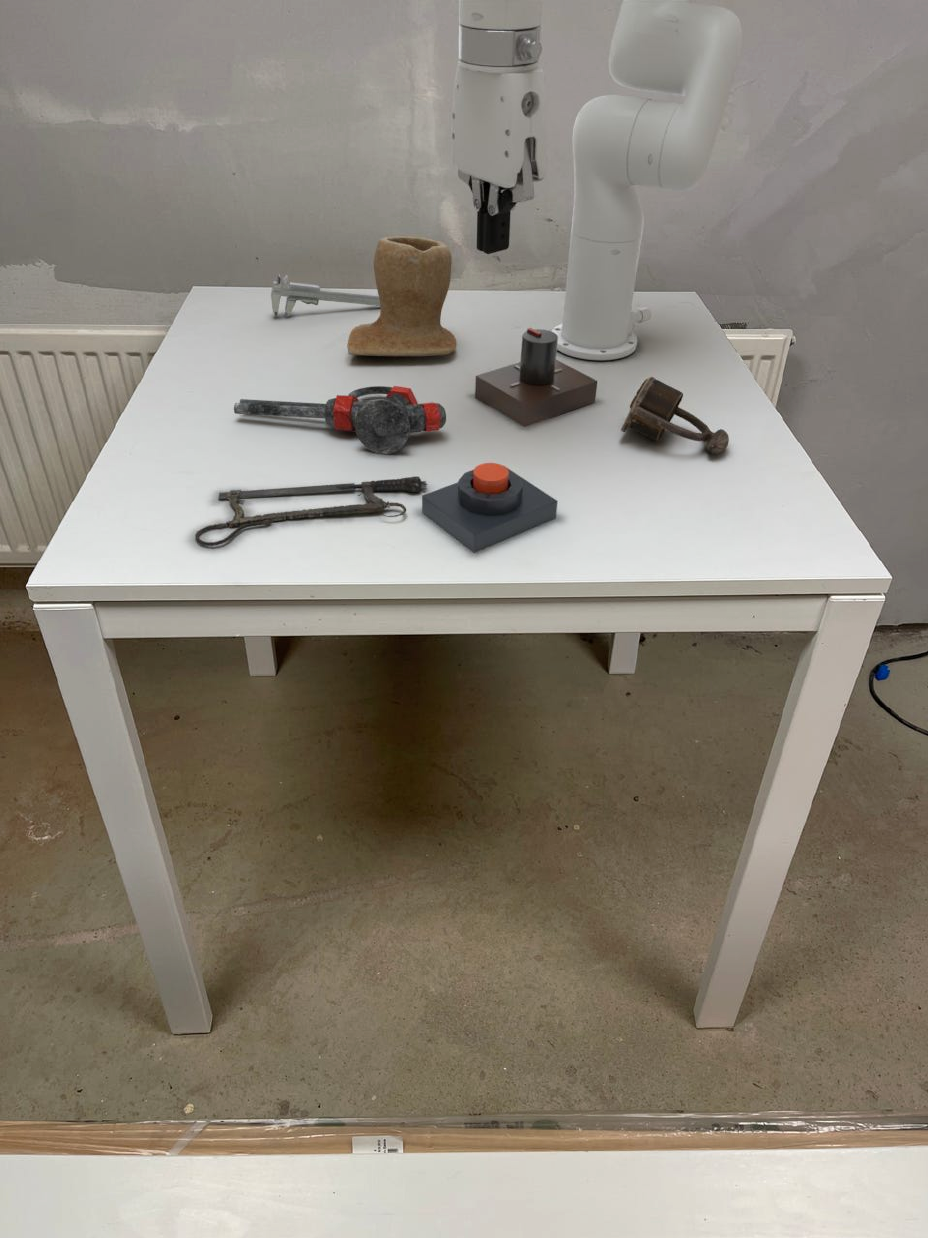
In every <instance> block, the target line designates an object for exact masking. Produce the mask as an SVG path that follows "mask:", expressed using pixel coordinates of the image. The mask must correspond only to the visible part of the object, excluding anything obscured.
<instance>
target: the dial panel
mask: <svg viewBox="0 0 928 1238" xmlns="http://www.w3.org/2000/svg"><path fill="white" fill-rule="evenodd" d="M520 362H521V361H519V362H515V363H513V364H509V365H506V366H502V367H500V368H496V369H493V370H490V371H487V372H483V373H480V374H477V375H475V386H474V398H475V399H477V400H478V401H480V402H482V403H484V404H485V405H487V406H489V407H491V408H493V409H494V410H495V411H497V412H499V413H501V414H503V415H504V416H506V417H507V418H509V419H510V420H512V421H514V422H516V424H519V425H520V426H522V427H529V426H531V425H534V424H537V423H540V422H543V421H545V420H548V419H552V418H555V417H558V416H560V415H563V414H566V413H569V412H572V411H574V410H578V409H580V408H583V407H586V406H589V405H593V404H595V403H596V396H597V390H598V380H597V379H595V378H593V377H591V376H589V375H587V374H585V373H583V372H581V371H579V370H578V369H575V368H573V367H571V366H570V365H568V364H565V363H564V362H562V361H560V360H558V359H556V362H555V373H554V380H553V381H552V382H551V383H549V384H545V385H532V384H528V383H525V382H523V381H522V380H521V379H520Z"/></svg>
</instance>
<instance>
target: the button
mask: <svg viewBox="0 0 928 1238" xmlns="http://www.w3.org/2000/svg"><path fill="white" fill-rule="evenodd" d="M504 466H505V465H504V464H503V465H502V464H500V463H497V462H496V463H495V462H485V463H480V464H478V465H477V466H475V467H474V468H473V470H474V473H473V488H474V489H475V490H476V491H477V492H481V493H485V494H500V493H502V492H505V491H506V490H507V489H508V477H509V471H508V469H509V468H508V467H507V468H508V469H507V468H506V466H505V467H504Z"/></svg>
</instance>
